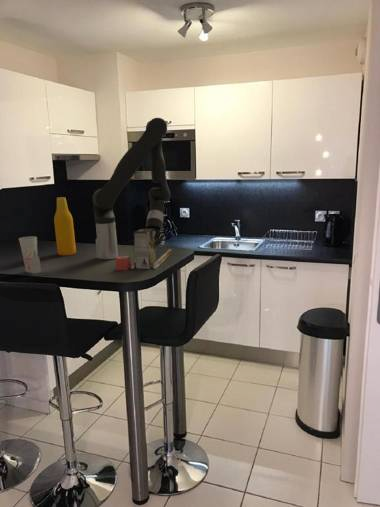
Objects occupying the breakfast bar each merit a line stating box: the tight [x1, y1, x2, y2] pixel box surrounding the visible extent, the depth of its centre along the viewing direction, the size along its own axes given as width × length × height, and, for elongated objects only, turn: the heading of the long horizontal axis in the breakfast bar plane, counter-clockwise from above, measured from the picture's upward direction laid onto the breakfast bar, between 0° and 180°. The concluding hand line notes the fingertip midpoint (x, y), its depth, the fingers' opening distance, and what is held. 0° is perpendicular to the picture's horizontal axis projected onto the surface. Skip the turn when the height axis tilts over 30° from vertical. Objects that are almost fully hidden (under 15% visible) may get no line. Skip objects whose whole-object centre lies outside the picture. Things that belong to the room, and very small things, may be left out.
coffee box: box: [133, 228, 157, 270], centre depth 180 cm, size 9×6×16 cm
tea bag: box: [23, 249, 42, 275], centre depth 179 cm, size 4×7×10 cm, turn 50°
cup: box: [18, 235, 38, 260], centre depth 196 cm, size 8×8×12 cm
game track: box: [130, 248, 173, 270], centre depth 191 cm, size 11×30×2 cm, turn 169°
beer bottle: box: [53, 196, 77, 256], centre depth 210 cm, size 9×9×29 cm
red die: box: [114, 255, 132, 271], centre depth 178 cm, size 5×5×5 cm
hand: (149, 252), depth 185 cm, fingers closed
